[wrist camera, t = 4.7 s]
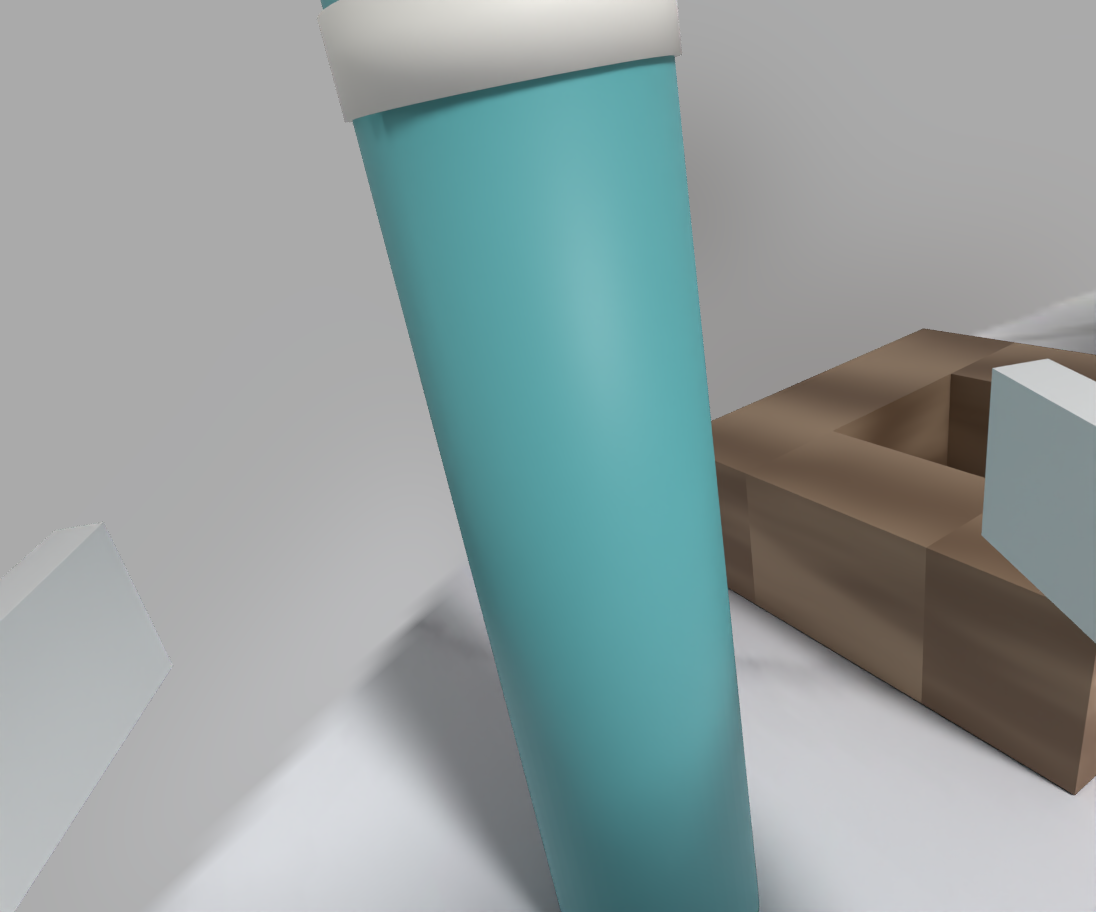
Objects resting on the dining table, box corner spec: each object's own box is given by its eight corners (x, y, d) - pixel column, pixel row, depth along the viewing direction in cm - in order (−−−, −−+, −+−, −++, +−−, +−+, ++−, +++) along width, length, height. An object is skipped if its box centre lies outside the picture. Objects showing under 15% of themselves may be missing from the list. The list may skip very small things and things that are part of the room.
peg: (672, 776, 20) (551, -9, 13) (810, 910, 16) (750, -98, 9) (521, 877, 18) (277, 26, 11) (637, 1054, 14) (383, -67, 7)
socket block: (920, 434, 35) (923, 328, 33) (1337, 551, 23) (1381, 398, 21) (681, 559, 29) (666, 440, 27) (1074, 795, 18) (1100, 619, 16)
